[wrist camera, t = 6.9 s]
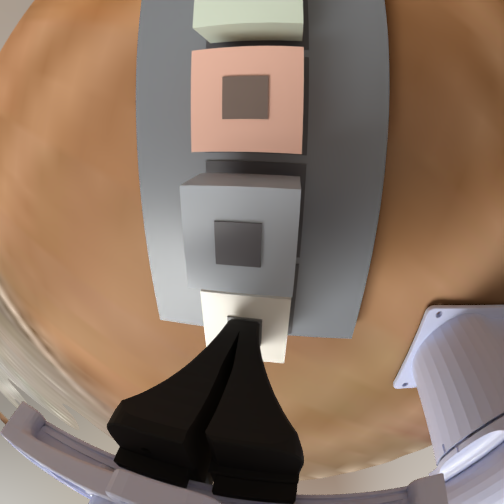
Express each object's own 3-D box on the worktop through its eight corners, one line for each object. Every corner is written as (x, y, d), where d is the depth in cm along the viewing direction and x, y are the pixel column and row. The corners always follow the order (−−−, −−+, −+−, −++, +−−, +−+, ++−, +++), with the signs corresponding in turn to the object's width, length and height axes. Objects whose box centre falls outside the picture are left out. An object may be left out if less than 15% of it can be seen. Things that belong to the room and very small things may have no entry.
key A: (292, 272, 14) (291, 301, 12) (286, 333, 16) (283, 364, 14) (213, 266, 15) (199, 292, 12) (218, 326, 16) (206, 355, 14)
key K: (299, 176, 11) (300, 190, 9) (293, 267, 13) (292, 298, 10) (201, 173, 11) (178, 185, 9) (205, 260, 13) (187, 289, 11)
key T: (302, 61, 10) (303, 46, 8) (300, 148, 12) (301, 154, 9) (210, 62, 10) (190, 50, 8) (209, 146, 12) (190, 152, 10)
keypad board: (376, -10, 8) (382, -20, 7) (349, 326, 17) (351, 339, 16) (152, -5, 10) (142, -12, 9) (167, 308, 19) (159, 320, 17)
